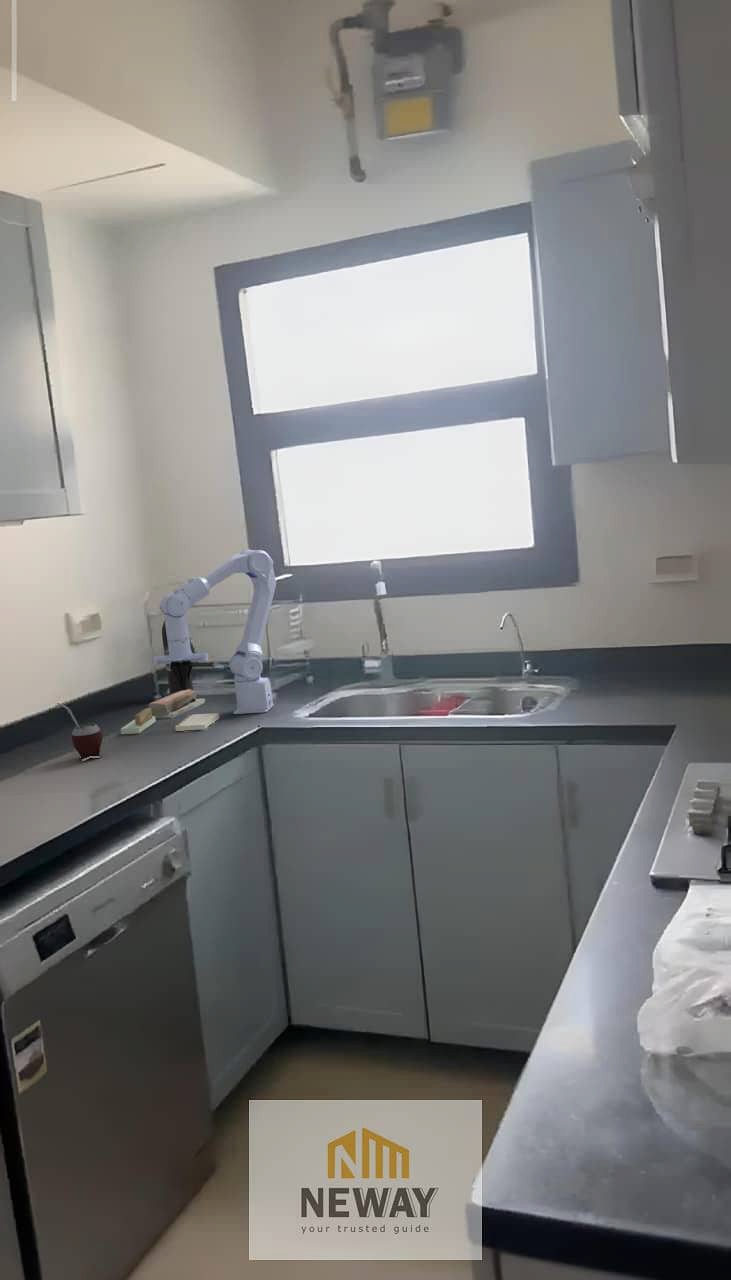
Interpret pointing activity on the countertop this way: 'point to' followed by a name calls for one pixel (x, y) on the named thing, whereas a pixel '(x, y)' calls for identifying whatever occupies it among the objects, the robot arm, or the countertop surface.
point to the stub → (139, 722)
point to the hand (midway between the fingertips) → (185, 689)
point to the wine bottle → (172, 679)
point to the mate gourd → (85, 738)
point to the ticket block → (197, 721)
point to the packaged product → (175, 704)
